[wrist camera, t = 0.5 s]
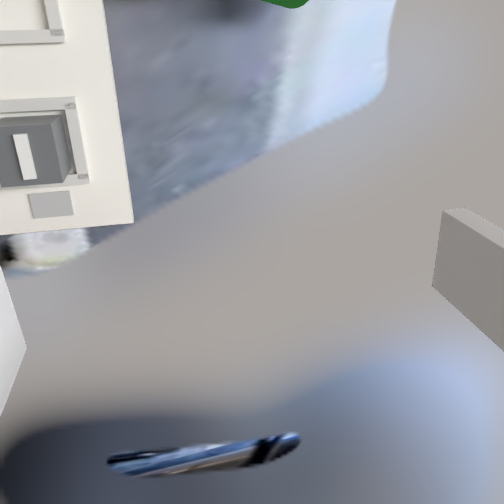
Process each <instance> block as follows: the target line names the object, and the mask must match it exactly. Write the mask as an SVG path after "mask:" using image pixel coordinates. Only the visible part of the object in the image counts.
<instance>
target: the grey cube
mask: <svg viewBox="0 0 504 504" xmlns="http://www.w3.org/2000/svg"><path fill="white" fill-rule="evenodd" d="M71 168H72V167H71V162H70V157H69V151H68V146H67V141H66V136H65V131H64V126H63V120H62V115H61V114H58V115H39V116H20V117H3V118H1V119H0V184H1V188H2V187H16V186H29V185H42V184H55V183H63V182H64V181H65V179H66V177H67V175H68V173H69V172H70V170H71Z"/></svg>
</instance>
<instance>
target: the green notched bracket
mask: <svg viewBox="0 0 504 504" xmlns="http://www.w3.org/2000/svg"><path fill="white" fill-rule="evenodd" d="M262 1H266V2H269V3H272V4H276V5H279V6H283V7H286V8H298V7H301V6H302V5H304V4H305V3H306V2H307V1H308V0H262Z"/></svg>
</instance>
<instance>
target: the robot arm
mask: <svg viewBox="0 0 504 504" xmlns="http://www.w3.org/2000/svg"><path fill="white" fill-rule="evenodd" d="M432 283H433V284H432V286H433V287H434V288H435V289H436V290H437V291H438V292H439V293H440V294H441V295H442V296H443V297H445V298H446V299H447V300H448V301H449V302H450V303H451V304H452V305H454V306H455V307H456V308H457V309H458V310H459V311H460V312H461V313H462V314H463V315H464V316H466V317H467V318H468V319H469V320H470V321H471V322H472V323H473V324H474V325H475V326H476V327H478V328H479V329H480V330H481V331H482V332H483V333H484V334H485V335H486V336H487V337H488V338H490V339H491V340H492V341H493V342H494V343H495V344H496V345H497V346H498V347H499V348H501V349H502V350H503V351H504V230H503V229H501V228H499V227H498V226H496V225H494V224H492V223H491V222H489V221H487V220H485V219H484V218H482V217H480V216H478V215H477V214H475V213H473V212H471V211H469V210H468V209H466V208H459V209H451V210H443V212H442V219H441V226H440V233H439V240H438V248H437V254H436V261H435V269H434V275H433V282H432ZM26 349H27V347H26V343H25V340H24V337H23V334H22V331H21V328H20V325H19V322H18V319H17V316H16V312H15V309H14V306H13V303H12V300H11V297H10V294H9V291H8V288H7V285H6V282H5V279H4V275H3V272H2V269H1V266H0V416H1V414H2V411H3V409H4V406H5V403H6V401H7V398H8V395H9V393H10V390H11V388H12V385H13V382H14V379H15V377H16V375H17V372H18V369H19V367H20V364H21V362H22V359H23V356H24V354H25V351H26Z"/></svg>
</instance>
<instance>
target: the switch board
mask: <svg viewBox="0 0 504 504" xmlns="http://www.w3.org/2000/svg"><path fill="white" fill-rule="evenodd" d="M58 114H61V115H62V120H63V126H64V131H65V136H66V141H67V146H68V151H69V157H70V162H71V167H72V168H71V170H70V172H69V173H68V175H67V177H66V179H65V181H64V182H63V183H55V184H42V185H29V186H16V187H2V188H1V184H0V235H7V234H18V233H29V232H40V231H50V230H61V229H72V228H83V227H94V226H105V225H116V224H127V223H134V216H133V209H132V202H131V195H130V188H129V181H128V173H127V166H126V159H125V152H124V145H123V138H122V131H121V124H120V117H119V110H118V103H117V96H116V89H115V82H114V75H113V68H112V61H111V54H110V47H109V40H108V32H107V25H106V18H105V11H104V4H103V0H0V119H1V118H3V117H20V116H39V115H58Z"/></svg>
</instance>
